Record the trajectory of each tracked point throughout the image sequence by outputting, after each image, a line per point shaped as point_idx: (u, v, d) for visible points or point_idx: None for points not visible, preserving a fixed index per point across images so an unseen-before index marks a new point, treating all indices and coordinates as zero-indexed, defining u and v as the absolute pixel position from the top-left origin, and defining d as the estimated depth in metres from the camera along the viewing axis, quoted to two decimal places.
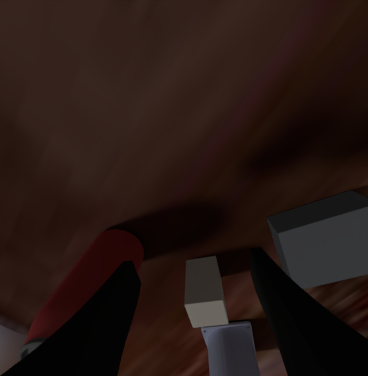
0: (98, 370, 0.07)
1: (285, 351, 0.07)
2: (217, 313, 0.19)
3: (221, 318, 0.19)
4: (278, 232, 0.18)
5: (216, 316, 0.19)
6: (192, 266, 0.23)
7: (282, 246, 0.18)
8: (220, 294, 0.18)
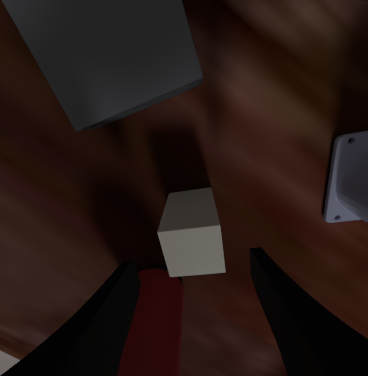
0: (98, 370, 0.07)
1: (285, 351, 0.07)
2: (190, 239, 0.11)
3: (202, 234, 0.11)
4: (76, 129, 0.12)
5: (198, 241, 0.11)
6: None
7: (98, 120, 0.12)
8: None
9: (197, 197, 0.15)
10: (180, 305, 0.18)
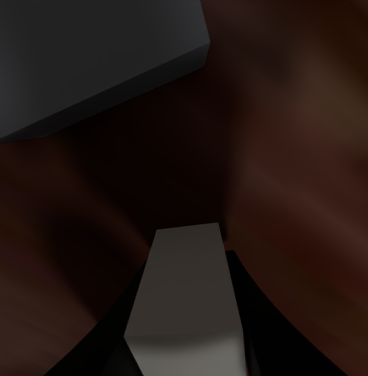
0: (135, 369, 0.07)
1: (246, 353, 0.07)
2: (185, 348, 0.06)
3: (209, 342, 0.06)
4: None
5: (199, 351, 0.06)
6: None
7: (19, 126, 0.06)
8: (131, 319, 0.07)
9: (198, 243, 0.10)
10: None
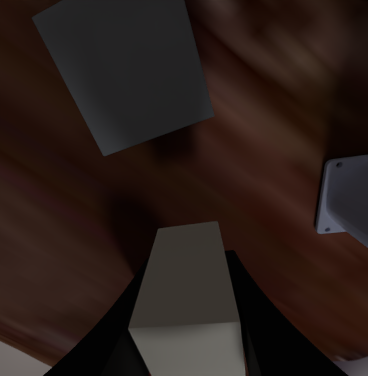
0: (134, 369, 0.07)
1: (246, 352, 0.07)
2: (186, 339, 0.06)
3: (208, 333, 0.06)
4: None
5: (199, 342, 0.07)
6: None
7: (123, 147, 0.14)
8: (134, 312, 0.07)
9: (198, 241, 0.10)
10: None
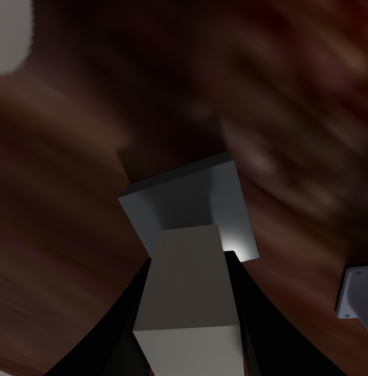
0: (135, 369, 0.07)
1: (246, 352, 0.07)
2: (188, 340, 0.07)
3: (209, 336, 0.07)
4: None
5: (201, 343, 0.07)
6: None
7: None
8: (138, 315, 0.07)
9: (198, 244, 0.10)
10: None
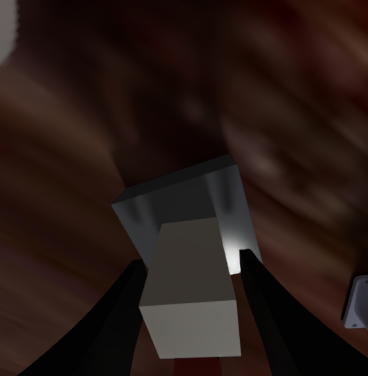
0: (112, 370, 0.07)
1: (269, 352, 0.07)
2: (188, 316, 0.07)
3: (208, 311, 0.07)
4: None
5: (200, 319, 0.07)
6: None
7: None
8: None
9: (199, 234, 0.11)
10: None
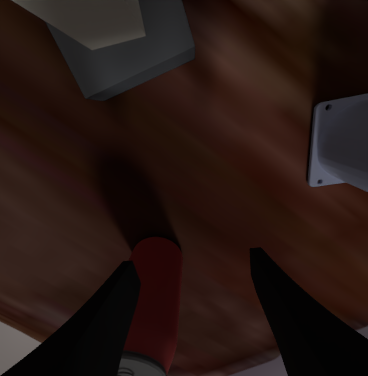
0: (98, 370, 0.07)
1: (285, 351, 0.07)
2: None
3: None
4: (85, 97, 0.14)
5: None
6: None
7: (105, 87, 0.13)
8: None
9: None
10: (179, 267, 0.20)
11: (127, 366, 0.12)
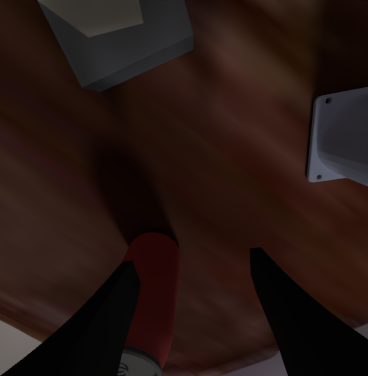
0: (98, 370, 0.07)
1: (285, 351, 0.07)
2: None
3: None
4: (81, 86, 0.13)
5: None
6: None
7: (101, 76, 0.13)
8: None
9: None
10: (176, 262, 0.20)
11: (121, 361, 0.12)
